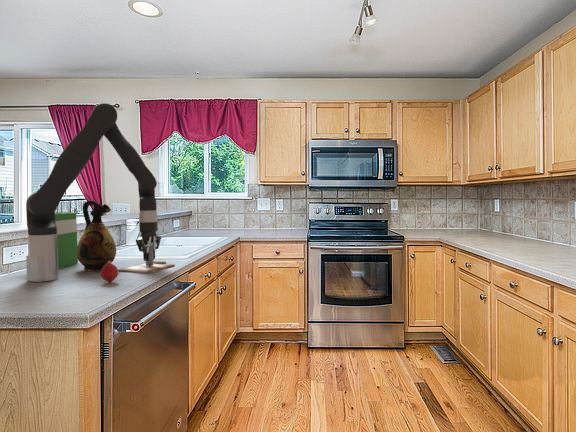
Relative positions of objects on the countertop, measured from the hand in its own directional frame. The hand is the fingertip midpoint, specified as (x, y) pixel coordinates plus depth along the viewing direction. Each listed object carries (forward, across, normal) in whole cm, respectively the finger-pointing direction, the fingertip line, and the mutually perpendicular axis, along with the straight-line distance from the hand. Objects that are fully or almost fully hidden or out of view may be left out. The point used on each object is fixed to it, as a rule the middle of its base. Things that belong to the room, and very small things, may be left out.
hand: (149, 260), depth 168 cm
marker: (+2, 0, 0) cm, 2 cm away
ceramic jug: (+4, +10, -20) cm, 23 cm away
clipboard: (+4, +1, 0) cm, 4 cm away
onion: (+4, +28, +6) cm, 29 cm away
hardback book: (+4, +11, -42) cm, 43 cm away
